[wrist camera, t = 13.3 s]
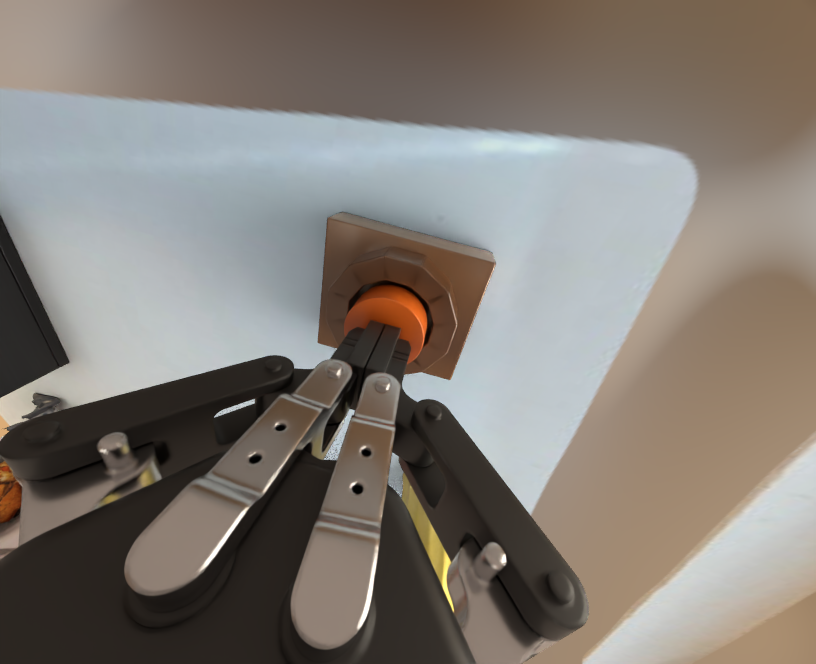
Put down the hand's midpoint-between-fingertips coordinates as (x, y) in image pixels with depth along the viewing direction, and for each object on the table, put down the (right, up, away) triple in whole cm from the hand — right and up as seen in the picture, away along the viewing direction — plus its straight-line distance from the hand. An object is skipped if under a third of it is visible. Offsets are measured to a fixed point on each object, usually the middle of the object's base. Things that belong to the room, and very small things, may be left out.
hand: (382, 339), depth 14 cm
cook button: (0, +1, +2) cm, 2 cm away
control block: (+1, +3, +5) cm, 6 cm away
